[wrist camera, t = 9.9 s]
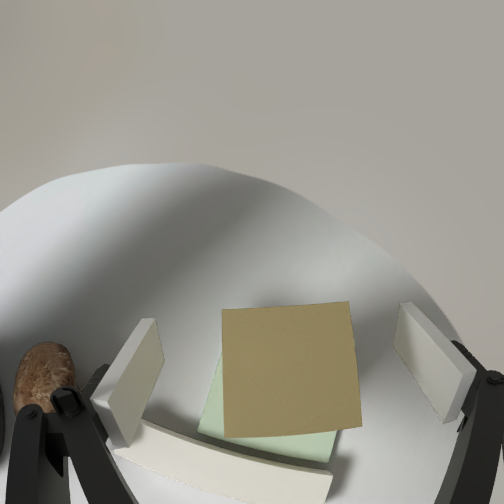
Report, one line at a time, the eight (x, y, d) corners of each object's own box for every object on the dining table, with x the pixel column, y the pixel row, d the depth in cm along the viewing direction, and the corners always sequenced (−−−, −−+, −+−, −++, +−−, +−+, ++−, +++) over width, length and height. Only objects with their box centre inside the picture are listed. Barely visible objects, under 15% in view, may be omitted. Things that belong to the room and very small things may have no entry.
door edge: (110, 443, 18) (89, 445, 15) (121, 409, 19) (100, 407, 17) (315, 506, 15) (322, 521, 13) (327, 470, 17) (337, 479, 14)
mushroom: (119, 412, 16) (27, 387, 12) (84, 470, 17) (9, 454, 13) (98, 340, 23) (30, 312, 19) (68, 400, 23) (8, 381, 19)
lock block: (246, 423, 18) (224, 438, 9) (244, 359, 20) (221, 309, 11) (315, 418, 18) (362, 426, 9) (310, 355, 20) (348, 301, 11)
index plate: (198, 431, 19) (196, 431, 18) (234, 315, 23) (233, 312, 22) (326, 461, 17) (327, 462, 17) (354, 341, 21) (356, 340, 21)
